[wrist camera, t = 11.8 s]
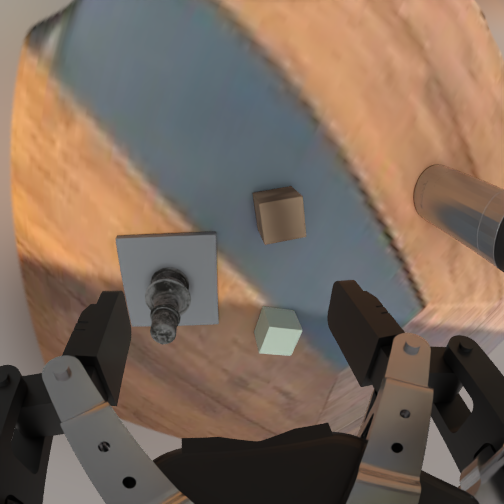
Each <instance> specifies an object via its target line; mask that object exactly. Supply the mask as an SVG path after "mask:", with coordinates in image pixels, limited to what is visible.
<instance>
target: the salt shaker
mask: <svg viewBox="0 0 504 504" xmlns="http://www.w3.org/2000/svg"><path fill="white" fill-rule="evenodd" d="M188 290H189V281H188V279H187V277H186V275H185V274H184V273H183V272H181V271H180V270H178V269H175V268H170V267H167V268H162V269H160V270H158V271H157V272H155V273H154V275H153V276H152V279H151V284H150V285H149V287H148V288H147V290H146V293H145V301H146V304H147V306H148V308H149V309H150V310H151V312H150V319H151V321H152V324H151V330H150V333H151V336H152V338H153V339H154V340H155V341H156V342H158V343H160V344H168V343H171V342H172V341H173V340H174V339H175V337H176V328H177V326H178V325H179V323H180V318H181V317H180V316H181V315H182V314H184V313H185V312H186V311H187V310H188V308H189V306H190V303H191V297H190V293H189V291H188Z"/></svg>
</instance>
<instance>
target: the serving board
mask: <svg viewBox="0 0 504 504" xmlns="http://www.w3.org/2000/svg"><path fill="white" fill-rule="evenodd" d="M116 245H117V252H118V258H119V264H120V270H121V275H122V281H123V286H124V291H125V296H126V301H127V306H128V310H129V315H130V319H131V324H132V326H151V324H152V321H151V319H150V312H151V310H150V309H149V308H148V306H147V304H146V301H145V293H146V290H147V288H148V287H149V285H150V284H151V279H152V276H153V275H154V273H155V272H157V271H158V270H160V269H162V268H167V267H170V268H175V269H178V270H180V271H181V272H183V273H184V274H185V275H186V277H187V279H188V281H189V290H188V291H189V293H190V297H191V303H190V306H189V308H188V310H187V311H186V312H185V313H184V314H182V315H181V316H180V317H181V318H180V323H179V325H178V326H181V325H208V324H219V321H218V295H217V260H216V232H194V233H168V234H145V235H124V236H117V237H116Z"/></svg>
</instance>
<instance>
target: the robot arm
mask: <svg viewBox="0 0 504 504" xmlns="http://www.w3.org/2000/svg"><path fill="white" fill-rule="evenodd" d="M414 204H415V207H416V210H417V212H418V214H419V215H420V216H421V217H422V218H424V219H425V220H427V221H428V222H430V223H432V224H433V225H435V226H436V227H438V228H439V229H441V230H443V231H444V232H446V233H447V234H449V235H450V236H452V237H453V238H455V239H456V240H458V241H460V242H461V243H463V244H464V245H466V246H467V247H468V248H470V249H471V250H473V251H474V252H476V253H477V254H479V255H480V256H482V257H483V258H485V259H486V260H487V261H489V262H490V263H492V264H493V265H494V266H496V267H497V268H499V269H500V270H501V271H503V272H504V189H501V188H499V187H497V186H494V185H492V184H490V183H487V182H485V181H482V180H480V179H477V178H475V177H472V176H470V175H467V174H465V173H462V172H459V171H457V170H454V169H451V168H449V167H446V166H443V165H433V166H431V167H429V168H427V169H426V170H425V171H424V172H423V173H422V174H421V176H420V178H419V179H418V181H417V184H416V187H415V191H414ZM328 325H329V328H330V330H331V332H332V334H333V336H334V338H335V340H336V341H337V343H338V345H339V347H340V349H341V351H342V353H343V354H344V356H345V358H346V360H347V362H348V364H349V366H350V368H351V369H352V371H353V373H354V375H355V377H356V379H357V381H358V383H359V385H360V386H361V387H364V386H369V385H373V387H374V390H373V393H372V395H371V398H370V401H369V404H368V407H367V410H366V413H365V416H364V419H363V422H362V425H361V428H360V430H359V433H358V435H357V436H354V435H351V434H346V433H339V432H332V431H331V429H330V426H329V424H328V423H324V424H319V425H314V426H308V427H302V428H296V429H293V430H290V431H287V432H285V433H282V434H279V435H277V436H274V437H271V438H268V439H266V440H263V441H246V440H237V439H230V438H222V437H209V438H182V448H181V449H176V450H173V451H171V452H168V453H165V454H163V455H161V456H159V457H158V458H156V459H154V460H153V461H152V460H151V459H150V458H149V456H148V455H147V454H146V453H145V452H144V450H143V449H142V448H141V447H140V445H139V444H138V443H137V442H136V440H135V439H134V438H133V436H132V435H131V434H130V432H129V431H128V430H127V428H126V427H125V426H124V424H123V423H122V421H121V420H120V419H119V417H118V416H117V415H116V413H115V412H114V410H113V409H112V407H111V406H117V403H118V398H119V393H120V387H121V382H122V378H123V373H124V368H125V363H126V359H127V354H128V350H129V346H130V341H131V325H130V320H129V316H128V311H127V307H126V302H125V297H124V294H123V292H122V291H103V292H102V293H101V295H100V297H99V300H98V302H97V304H90V305H89V306H88V307H87V308H86V309H85V310H84V311H83V312H82V313H81V315H80V317H79V319H78V323H76V326H75V328H74V331H73V332H72V334H71V336H70V339H69V341H68V343H67V345H66V348H65V350H64V352H63V355H62V356H59V357H56V358H54V359H52V360H51V361H49V362H48V363H47V364H46V365H45V367H44V368H43V371H42V373H40V374H34V375H28V376H22V375H21V373H20V372H19V370H18V369H17V368H16V367H14V366H12V365H3V366H0V504H42V502H43V494H44V486H45V479H46V473H47V466H48V461H49V455H50V450H51V444H52V439H53V435H60V434H65V436H66V438H67V440H68V442H69V443H70V445H71V447H72V449H73V451H74V453H75V455H76V456H77V458H78V460H79V462H80V464H81V465H82V467H83V469H84V470H85V472H86V474H87V475H88V477H89V479H90V480H91V482H92V483H93V485H94V486H95V488H96V490H97V491H98V493H99V494H100V496H101V497H102V499H103V500H104V502H105V503H106V504H504V376H503V375H502V374H501V372H500V371H499V370H498V368H497V367H496V366H495V365H494V364H493V362H492V361H491V360H490V359H489V357H488V356H487V355H486V354H485V352H484V351H483V350H482V349H481V348H480V346H479V345H478V344H477V343H476V342H475V341H474V340H472V339H470V338H468V337H466V336H461V335H458V336H453V337H452V338H451V339H450V340H449V342H448V345H447V347H430V345H429V343H428V342H427V341H426V340H425V339H424V338H422V337H420V336H418V335H416V334H412V333H405V332H404V331H403V330H402V328H401V327H400V326H399V325H398V323H397V322H396V321H395V320H394V318H393V317H392V316H391V315H390V313H388V311H387V310H386V308H385V307H383V305H382V304H381V302H380V301H379V300H378V299H377V298H376V297H375V296H373V295H372V294H370V293H369V292H367V291H363V290H362V289H361V287H360V286H359V285H358V284H357V283H356V281H355V280H345V281H336V282H335V283H334V285H333V289H332V294H331V300H330V305H329V310H328ZM463 386H464V388H465V389H466V391H467V392H468V394H469V395H470V397H471V398H472V400H473V411H472V413H471V412H470V410H469V409H468V407H467V406H466V404H465V402H464V401H463V399H462V398H461V396H460V395H459V391H460V390H461V388H462V387H463ZM431 417H432V419H433V421H434V423H435V424H436V426H437V428H438V430H439V432H440V434H441V436H442V437H443V439H444V441H445V443H446V445H447V447H448V449H449V451H450V453H451V454H452V457H453V459H454V460H455V463H456V465H457V467H458V469H459V471H460V473H461V476H460V486H459V487H458V488H457V487H455V486H453V485H451V484H449V483H447V482H444V481H442V480H440V479H438V478H436V477H434V476H432V475H430V474H428V473H426V472H424V471H422V470H421V469H422V465H423V460H424V455H425V449H426V444H427V438H428V431H429V425H430V418H431ZM13 433H14V434H13ZM12 437H13V438H12Z"/></svg>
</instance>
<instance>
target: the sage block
mask: <svg viewBox="0 0 504 504" xmlns="http://www.w3.org/2000/svg"><path fill="white" fill-rule="evenodd" d="M302 331H303V330H302V328H301V325H300V323H299V321H298V319H297V316H296V314H295V312H294V310H288V309H280V308H273V307H266V306H263V308H262V310H261V313H260V316H259V319H258V322H257V325H256V327H255V330H254V334H255V338H256V342H257V347H258V351H259V353H263V354H275V355H287V356H291V354H292V352H293V350H294V348H295V346H296V344H297V342H298V339H299V337H300V335H301V333H302Z"/></svg>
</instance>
